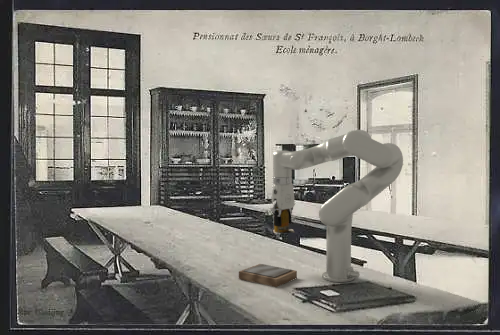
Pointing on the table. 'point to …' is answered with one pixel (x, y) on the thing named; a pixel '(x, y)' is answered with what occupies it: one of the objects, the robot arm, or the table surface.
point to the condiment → (283, 223)
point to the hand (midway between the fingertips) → (282, 224)
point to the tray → (267, 275)
